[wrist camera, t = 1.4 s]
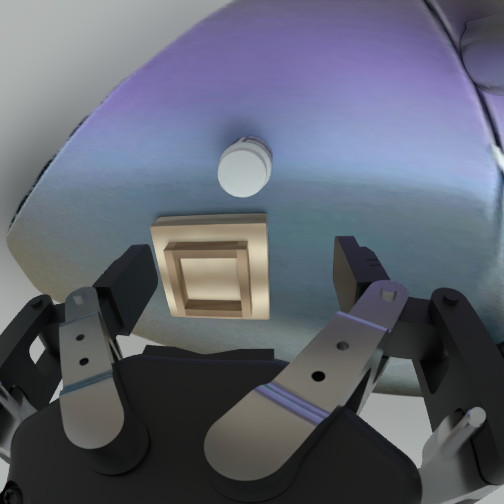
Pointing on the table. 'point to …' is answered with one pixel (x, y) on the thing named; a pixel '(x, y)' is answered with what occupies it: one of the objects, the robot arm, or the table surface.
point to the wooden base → (214, 265)
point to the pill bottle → (245, 166)
